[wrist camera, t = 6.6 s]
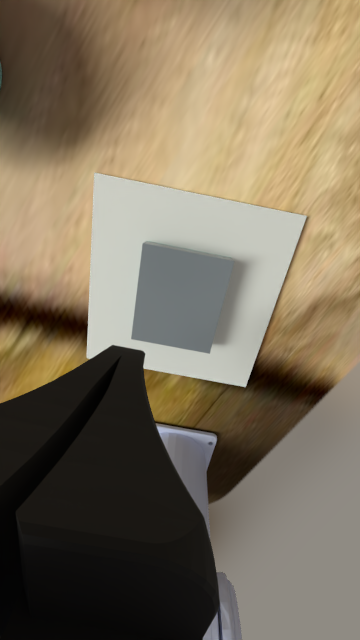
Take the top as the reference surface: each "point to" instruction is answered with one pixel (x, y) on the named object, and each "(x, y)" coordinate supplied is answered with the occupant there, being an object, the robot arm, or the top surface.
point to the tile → (179, 296)
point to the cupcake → (0, 75)
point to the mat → (196, 234)
